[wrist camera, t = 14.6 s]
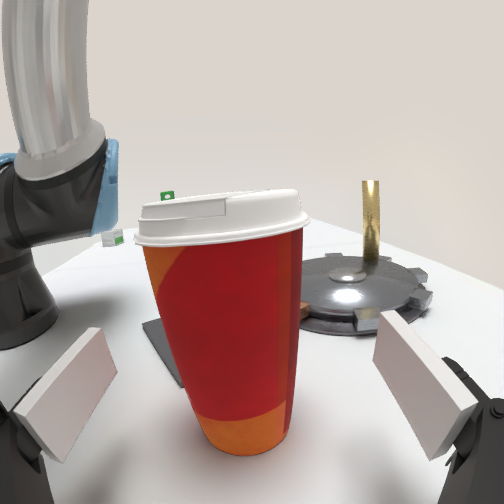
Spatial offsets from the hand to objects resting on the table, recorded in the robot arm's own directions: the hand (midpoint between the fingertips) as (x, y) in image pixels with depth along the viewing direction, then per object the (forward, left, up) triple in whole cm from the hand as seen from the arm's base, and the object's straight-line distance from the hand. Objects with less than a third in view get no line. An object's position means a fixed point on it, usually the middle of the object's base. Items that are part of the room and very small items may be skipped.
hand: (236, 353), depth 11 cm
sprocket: (-11, +23, -7) cm, 26 cm away
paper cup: (-2, +1, -8) cm, 8 cm away
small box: (-85, +3, -8) cm, 85 cm away
